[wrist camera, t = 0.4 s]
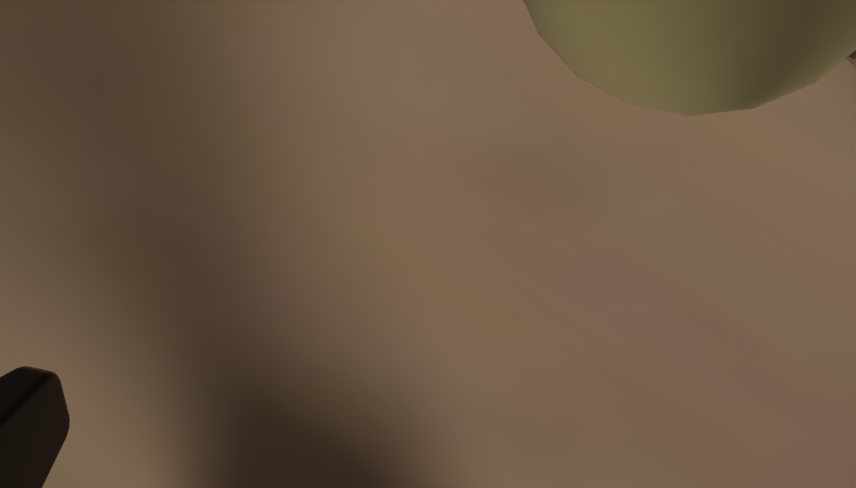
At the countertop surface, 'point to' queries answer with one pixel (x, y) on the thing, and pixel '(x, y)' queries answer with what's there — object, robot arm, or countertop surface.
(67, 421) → the robot arm
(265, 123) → the countertop surface
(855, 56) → the slab
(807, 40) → the cork
